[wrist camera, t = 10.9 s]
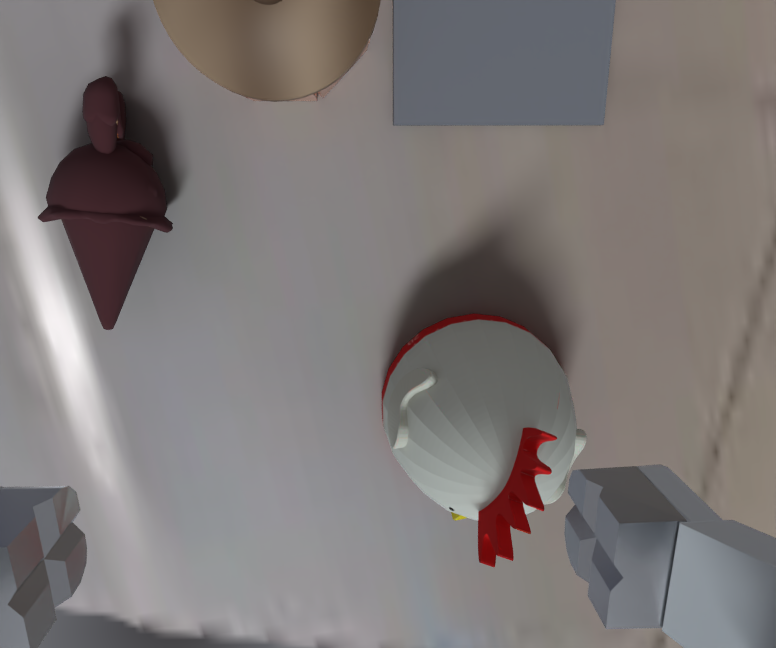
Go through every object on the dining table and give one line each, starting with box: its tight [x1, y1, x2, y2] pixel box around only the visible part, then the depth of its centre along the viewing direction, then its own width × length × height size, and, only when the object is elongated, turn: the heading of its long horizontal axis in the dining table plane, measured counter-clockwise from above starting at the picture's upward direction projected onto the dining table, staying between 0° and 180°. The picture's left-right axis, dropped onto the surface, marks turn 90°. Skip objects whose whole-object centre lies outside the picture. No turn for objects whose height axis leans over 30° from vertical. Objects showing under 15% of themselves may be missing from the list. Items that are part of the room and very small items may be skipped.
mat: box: [393, 0, 616, 125], centre depth 35 cm, size 14×12×1 cm
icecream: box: [38, 76, 173, 330], centre depth 34 cm, size 7×7×15 cm
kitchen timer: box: [382, 314, 586, 567], centre depth 36 cm, size 14×14×15 cm
